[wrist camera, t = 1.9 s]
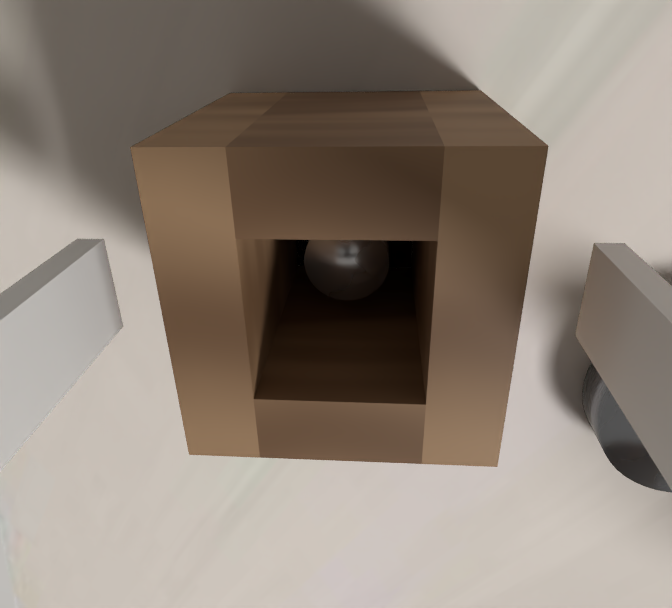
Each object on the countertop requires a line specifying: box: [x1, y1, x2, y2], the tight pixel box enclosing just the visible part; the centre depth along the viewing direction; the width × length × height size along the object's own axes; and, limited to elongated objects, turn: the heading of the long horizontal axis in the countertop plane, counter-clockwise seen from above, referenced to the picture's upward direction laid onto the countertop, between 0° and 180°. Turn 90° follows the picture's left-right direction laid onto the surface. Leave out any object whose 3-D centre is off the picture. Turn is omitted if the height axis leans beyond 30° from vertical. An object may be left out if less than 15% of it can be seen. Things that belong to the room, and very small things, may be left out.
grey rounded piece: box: [304, 240, 389, 300], centre depth 17 cm, size 2×2×4 cm
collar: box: [130, 90, 548, 467], centre depth 16 cm, size 8×8×8 cm
